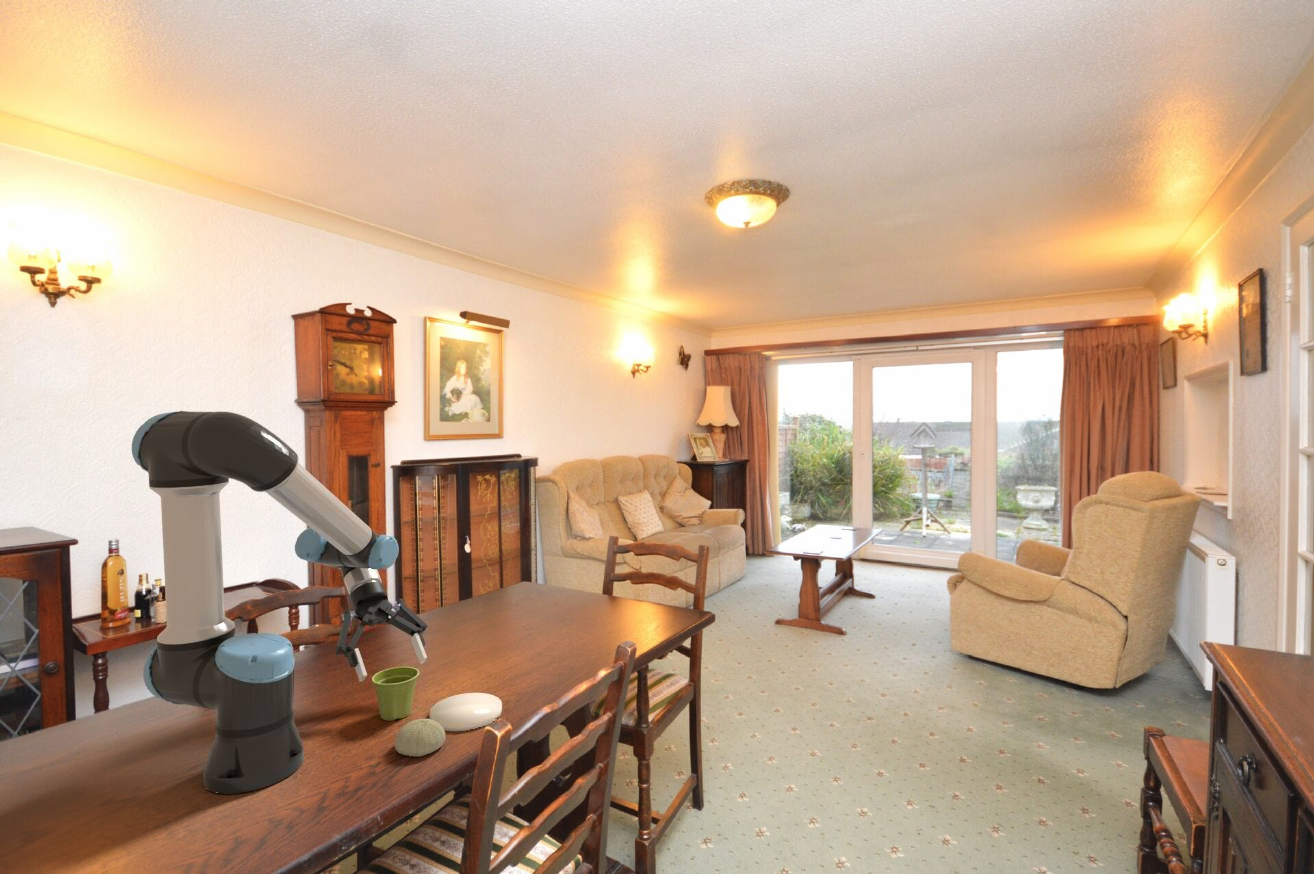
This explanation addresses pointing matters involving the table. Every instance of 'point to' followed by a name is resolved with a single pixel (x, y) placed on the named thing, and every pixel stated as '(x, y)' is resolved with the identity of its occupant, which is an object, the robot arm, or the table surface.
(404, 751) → the sea urchin shell
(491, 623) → the table surface
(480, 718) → the white flat rounded piece
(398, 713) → the plant pot
